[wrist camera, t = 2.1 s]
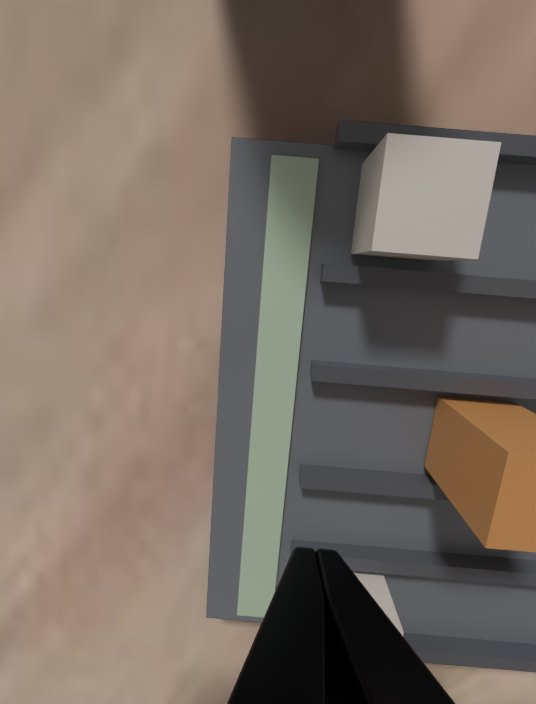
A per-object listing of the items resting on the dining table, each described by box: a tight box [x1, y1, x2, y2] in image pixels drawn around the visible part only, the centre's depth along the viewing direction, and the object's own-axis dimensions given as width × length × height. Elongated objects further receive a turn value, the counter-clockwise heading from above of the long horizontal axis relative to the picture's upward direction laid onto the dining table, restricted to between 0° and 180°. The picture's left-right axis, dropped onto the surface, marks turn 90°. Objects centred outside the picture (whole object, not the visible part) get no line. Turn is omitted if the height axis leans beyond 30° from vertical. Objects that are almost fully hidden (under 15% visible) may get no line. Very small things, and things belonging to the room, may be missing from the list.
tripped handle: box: [425, 396, 536, 552], centre depth 13 cm, size 3×3×4 cm
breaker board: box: [206, 120, 536, 672], centre depth 14 cm, size 20×21×5 cm
